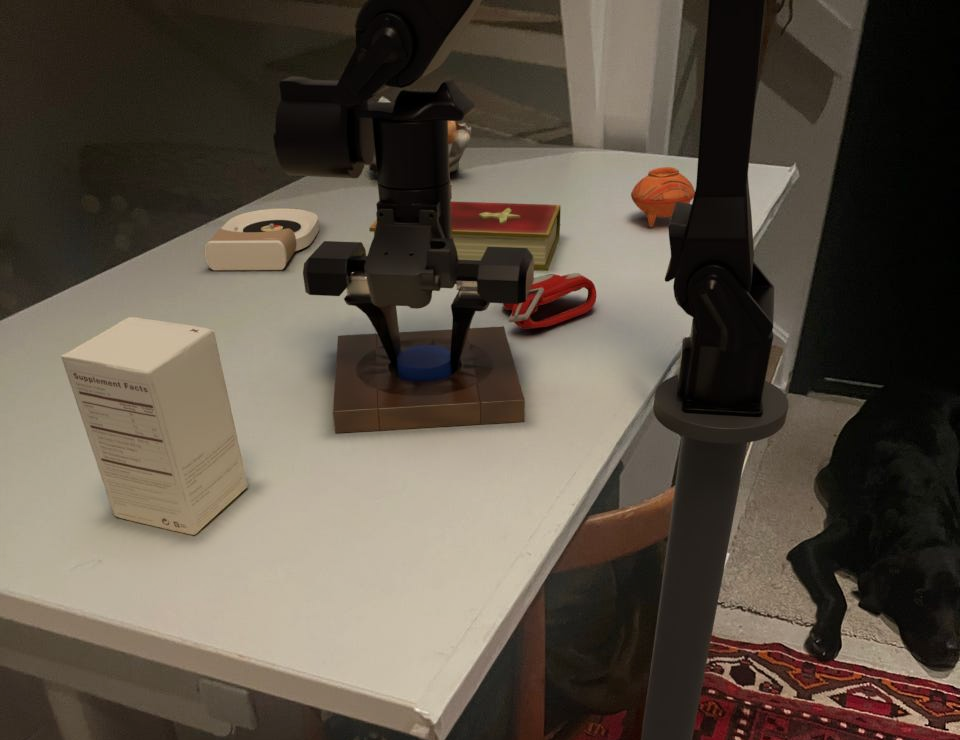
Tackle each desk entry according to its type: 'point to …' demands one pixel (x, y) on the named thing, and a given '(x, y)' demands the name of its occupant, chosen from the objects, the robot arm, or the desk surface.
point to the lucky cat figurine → (456, 142)
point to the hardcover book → (504, 229)
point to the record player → (261, 239)
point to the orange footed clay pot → (661, 192)
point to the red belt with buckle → (551, 299)
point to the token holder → (425, 384)
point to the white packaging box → (158, 422)
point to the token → (424, 363)
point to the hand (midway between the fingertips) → (425, 368)
